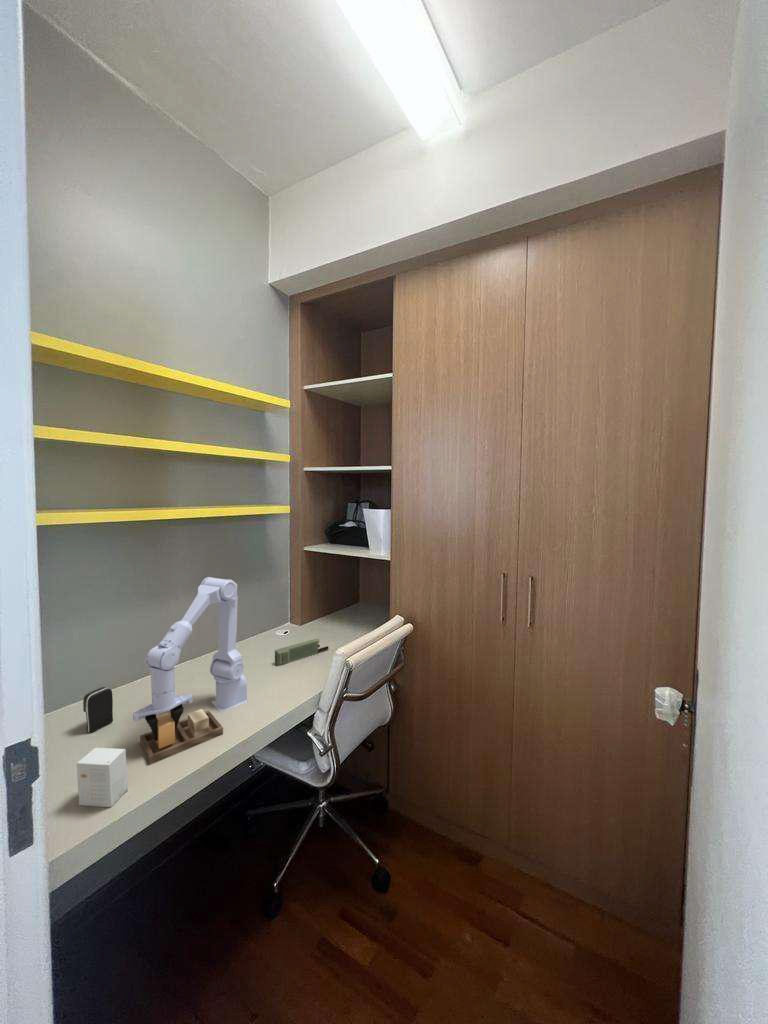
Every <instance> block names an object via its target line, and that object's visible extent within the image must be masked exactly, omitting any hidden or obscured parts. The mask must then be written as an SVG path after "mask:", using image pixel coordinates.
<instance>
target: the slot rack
mask: <svg viewBox="0 0 768 1024" xmlns="http://www.w3.org/2000/svg"><path fill="white" fill-rule="evenodd" d="M204 712H205V713H206V715H207V716H208V717H209V731H208V732H206V733H204V734H201V735H199V736H196V737H194V738H193V736H192V735H191V733H190V732H189V730H188V717H187V718H183V719H181V720H179V722H178V725H177V729H176V733H175V743H173V744H170V745H168V746H165V747H163V748H160V749H159V747H158V745H157V743H156V741H155V740H154V738H153V733H152V730H151V731H149V732H146V733H143V734H140V735H139V744H140V746H141V749H142V750H143V753H144V755H145V757H146V760H147V761H148V764H149V766H151V765H153V764H156V763H158V762H160V761H163V760H165V759H167V758H171V757H173V756H175V755H177V754H179V753H182V752H184V751H187V750H189V749H191V748H193V747H196V746H199V745H202V744H204V743H206V742H209V741H210V740H213V739H216V738H218V737H220V736H223V735H224V727H223V726H222V725H221V724H220V722H219V721H218V720H217V718H216V717H215V716H214V715H213V714H212V712H211V711H210V710H206V711H205V710H204Z"/></svg>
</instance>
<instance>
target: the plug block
mask: <svg viewBox="0 0 768 1024" xmlns="http://www.w3.org/2000/svg"><path fill="white" fill-rule="evenodd" d="M156 718H157V719H158V725H157V732H158V740H157V741H156V743H157V745H158V747H159V749H160V748H163V747H165V746H168V745H170V744H173V743H175V722H174V720H173V719H172V717H171V713H170V712H167V713H164V714H161V715H158V716H156Z"/></svg>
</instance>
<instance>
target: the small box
mask: <svg viewBox="0 0 768 1024" xmlns="http://www.w3.org/2000/svg"><path fill="white" fill-rule="evenodd" d="M126 752H127V751H126V748H113V747H110V748H109V747H95V748H93V749H92V750H91V751H89V753H86V755H85V756H84V757H83V758H81V759H80V760H79V761H77V762H76V774H77V791H78V805H79V806H86V807H87V806H88V807H102V808H103V807H104V808H112V807H113V806H114V805H115V804H116V802H117V801H118V800H119V799H120V798H121V797H122V795H124V794H125V792H127V790H128V786H129V785H128V770H127V769H128V767H127V753H126Z"/></svg>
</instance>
